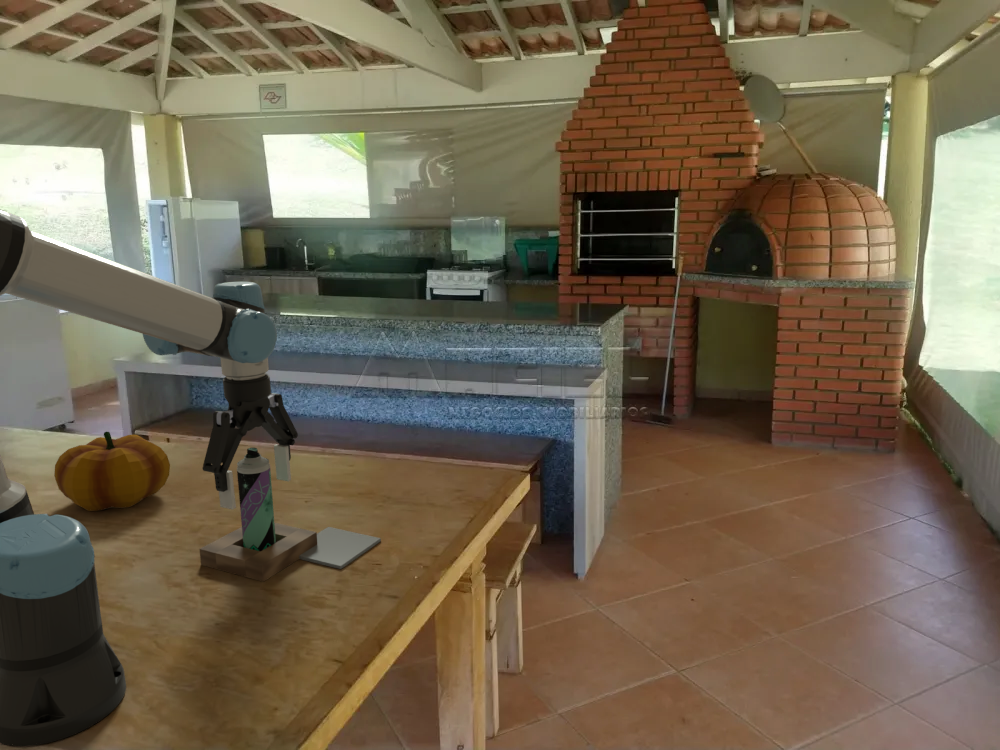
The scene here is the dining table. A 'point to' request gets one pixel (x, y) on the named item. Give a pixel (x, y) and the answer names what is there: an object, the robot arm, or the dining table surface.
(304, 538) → the eye block
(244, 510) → the spray can
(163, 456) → the decorative pumpkin
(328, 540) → the slate tile
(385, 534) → the dining table surface
